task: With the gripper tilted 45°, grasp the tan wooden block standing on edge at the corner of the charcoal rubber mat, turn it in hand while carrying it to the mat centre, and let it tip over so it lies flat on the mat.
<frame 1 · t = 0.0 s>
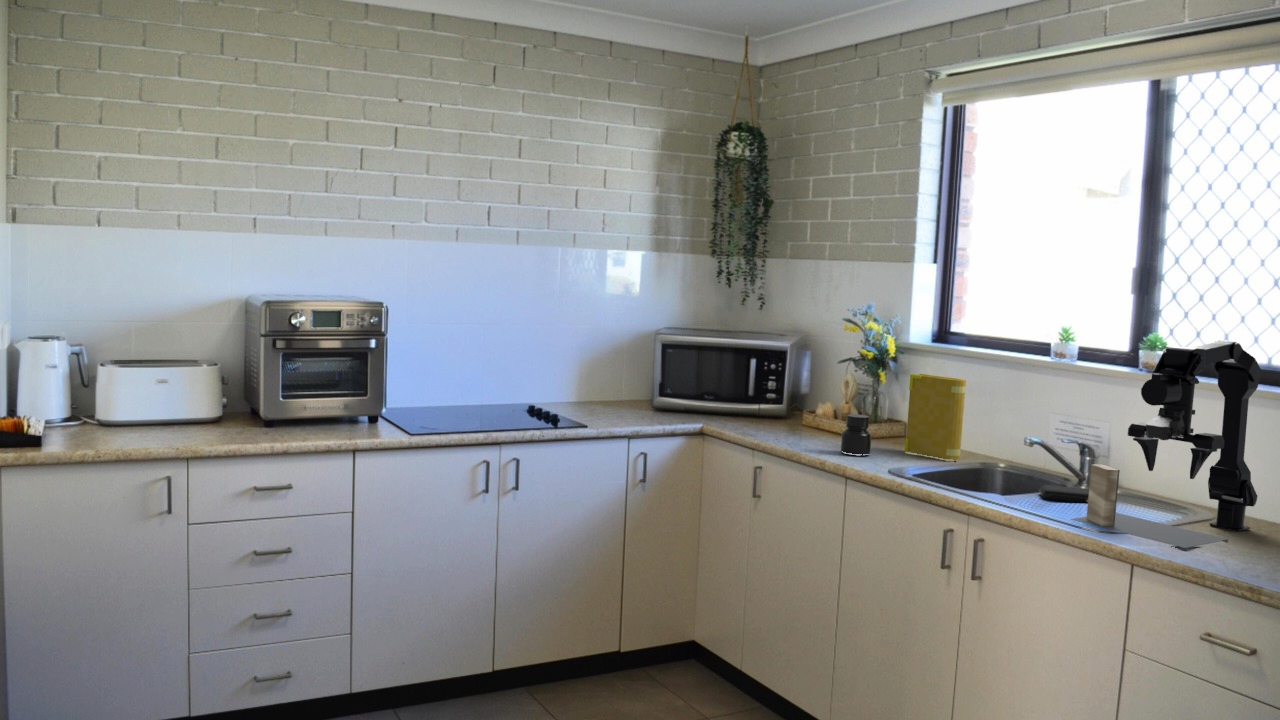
hand: (1171, 474, 229), 15 cm above the worktop, tool pointing down, fingers open, 9 cm apart
tan wooden block: (1100, 522, 243), point 1 cm above the worktop, touching mat
mat: (1147, 531, 238), on the worktop
ink bottle: (855, 455, 322), on the worktop
book: (933, 457, 325), on the worktop
carrying case or bag: (1070, 502, 270), on the worktop
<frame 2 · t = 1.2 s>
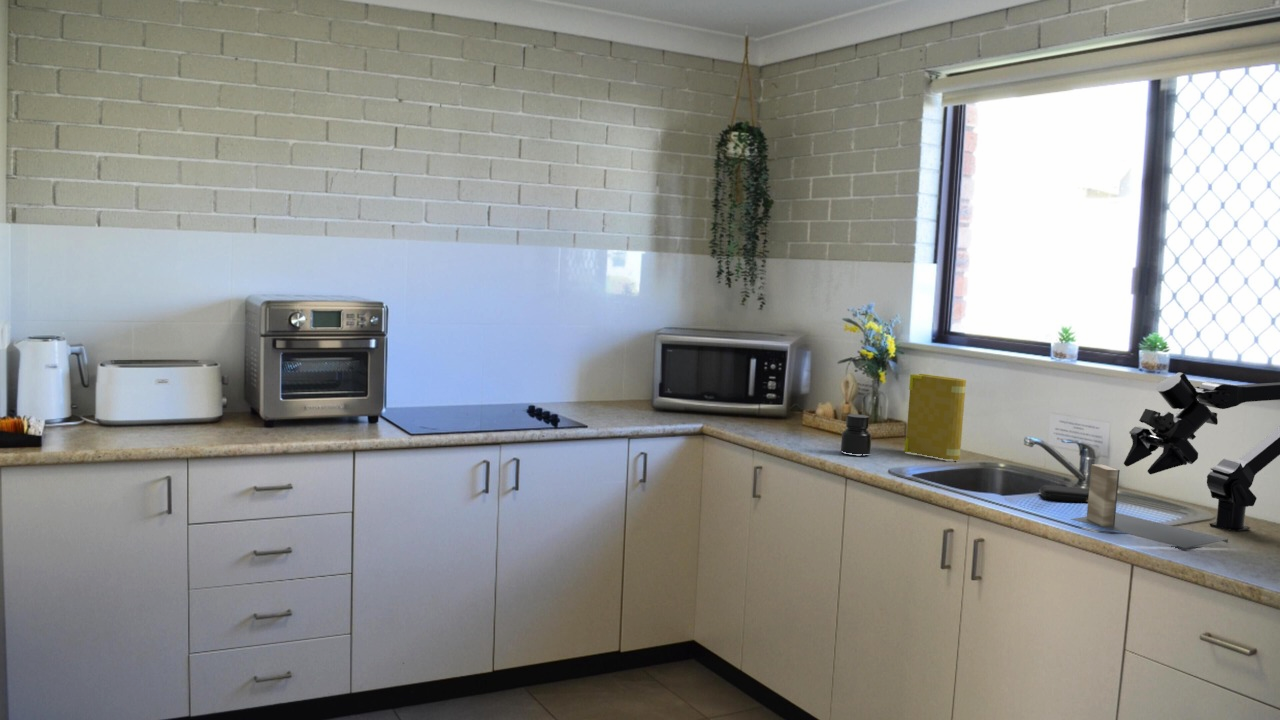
hand: (1136, 468, 242), 13 cm above the worktop, tool tilted 45°, fingers open, 9 cm apart
nothing on the worktop moved.
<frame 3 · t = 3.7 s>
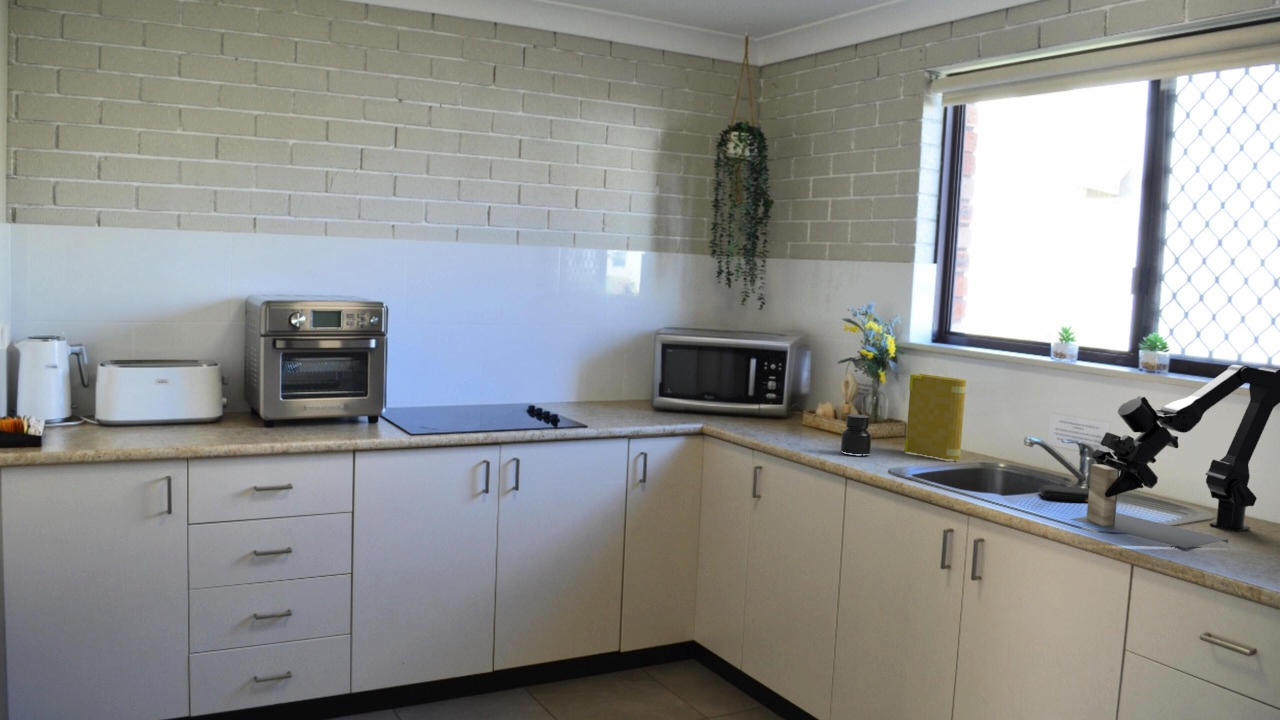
hand: (1097, 492, 242), 8 cm above the worktop, tool tilted 45°, fingers closed on tan wooden block, 6 cm apart
tan wooden block: (1100, 522, 243), point 1 cm above the worktop, touching gripper, mat
everything else where it was.
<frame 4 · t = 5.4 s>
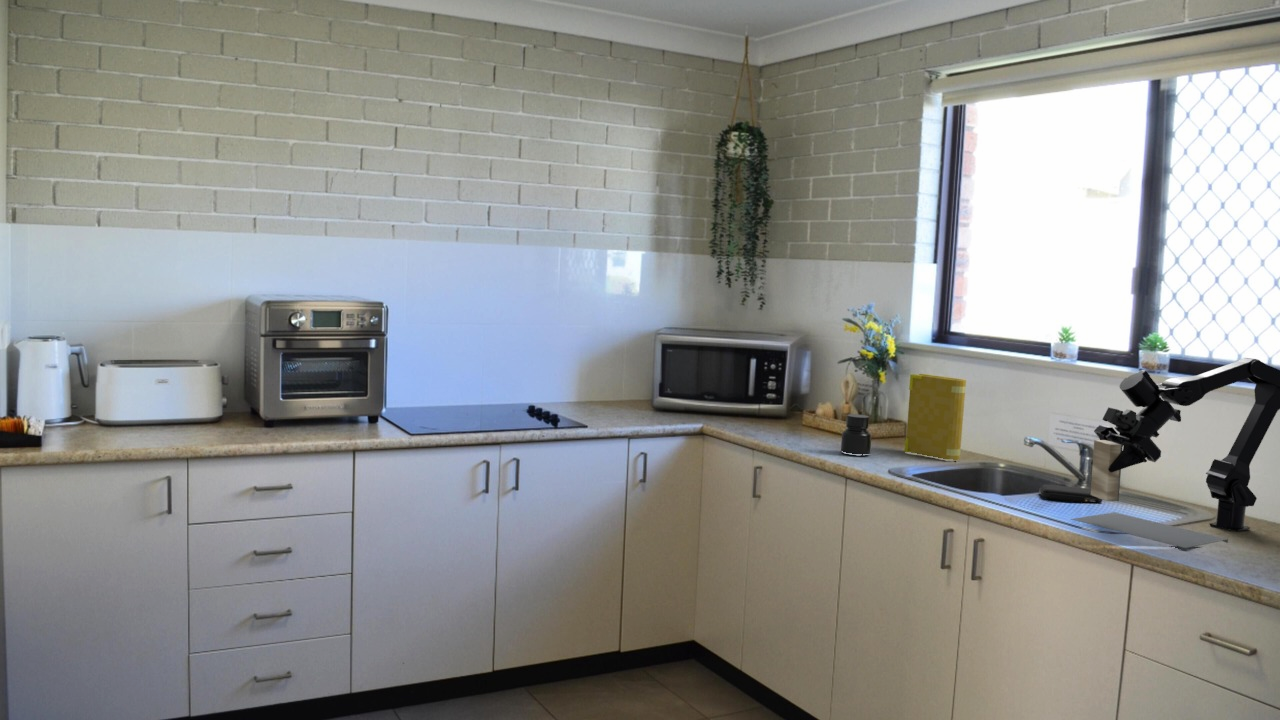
hand: (1100, 468, 241), 13 cm above the worktop, tool tilted 45°, fingers closed on tan wooden block, 6 cm apart
tan wooden block: (1104, 497, 242), point 6 cm above the worktop, touching gripper
everything else where it was.
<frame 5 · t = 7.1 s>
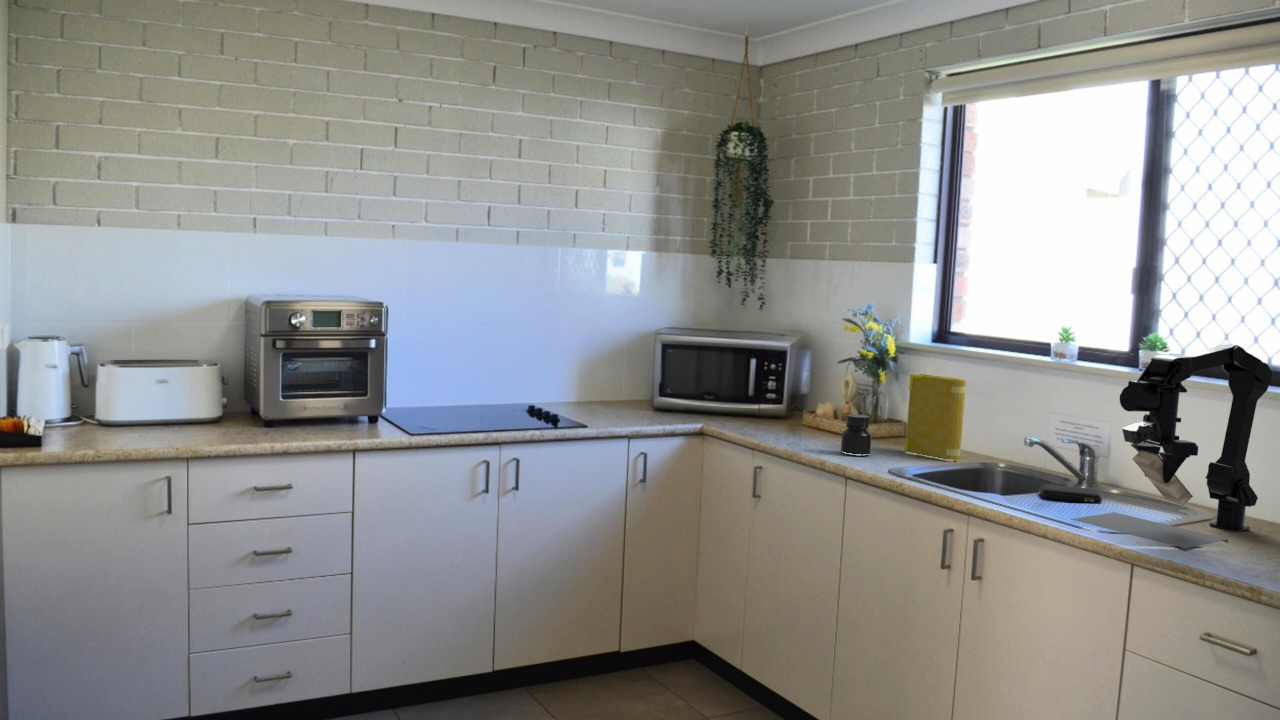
hand: (1156, 479, 238), 12 cm above the worktop, tool pointing down, fingers closed on tan wooden block, 6 cm apart
tan wooden block: (1178, 497, 239), point 8 cm above the worktop, tilted 45°, touching gripper
everything else where it was.
when the fingers open (7 cm above the worktop, at t = 9.3 s): tan wooden block drops 1 cm and tips over, resting on mat.
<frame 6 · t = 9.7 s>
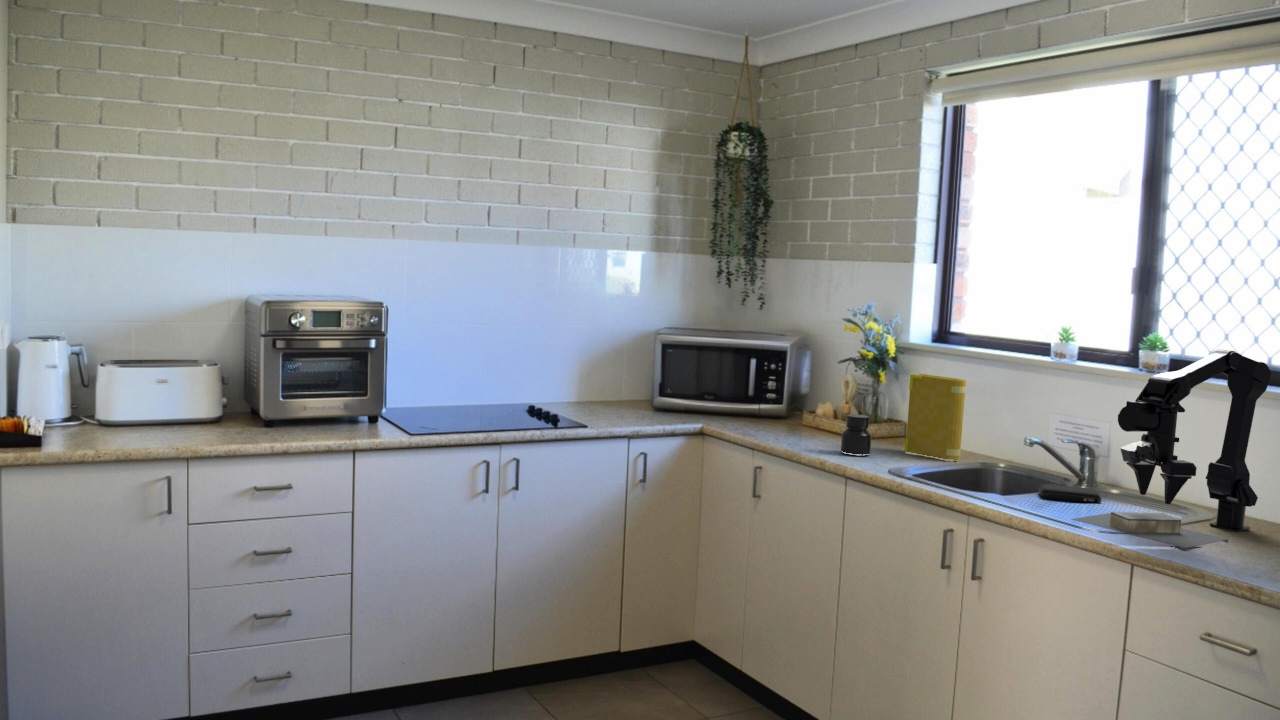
hand: (1154, 499, 238), 7 cm above the worktop, tool pointing down, fingers open, 9 cm apart
tan wooden block: (1171, 522, 239), point 2 cm above the worktop, tilted 90°, touching mat
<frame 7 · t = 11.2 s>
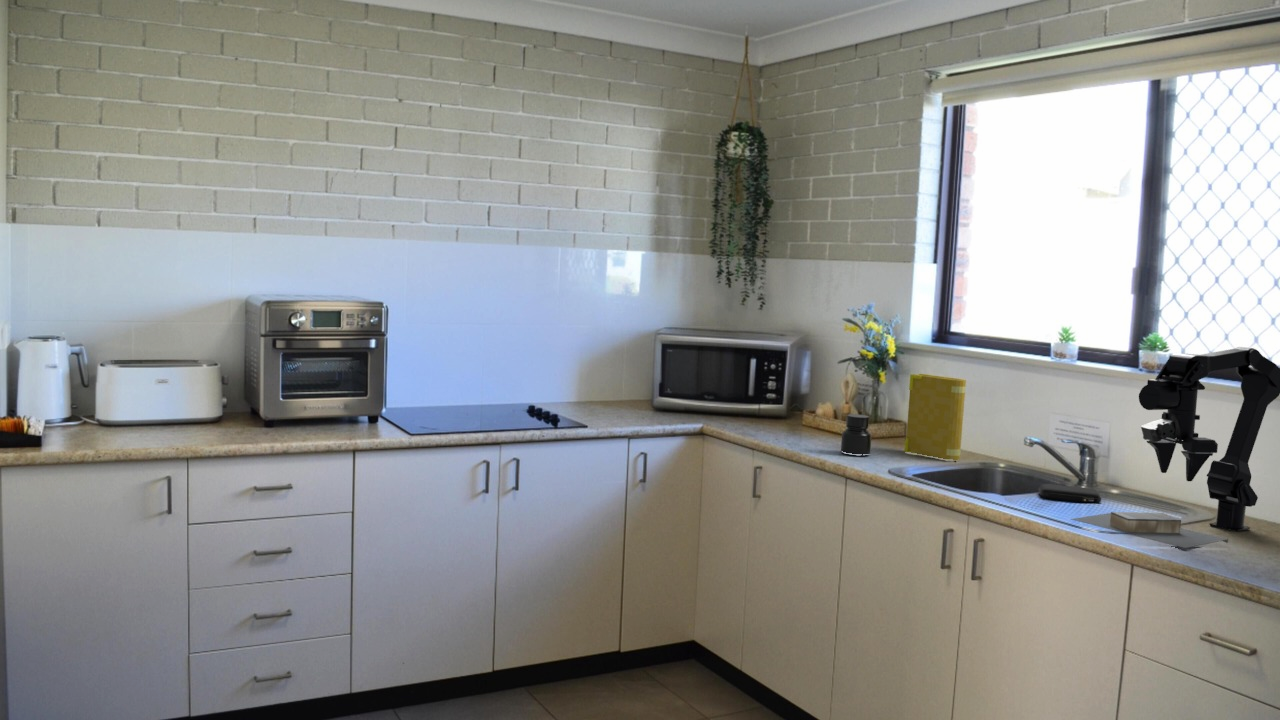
hand: (1176, 476, 239), 13 cm above the worktop, tool pointing down, fingers open, 9 cm apart
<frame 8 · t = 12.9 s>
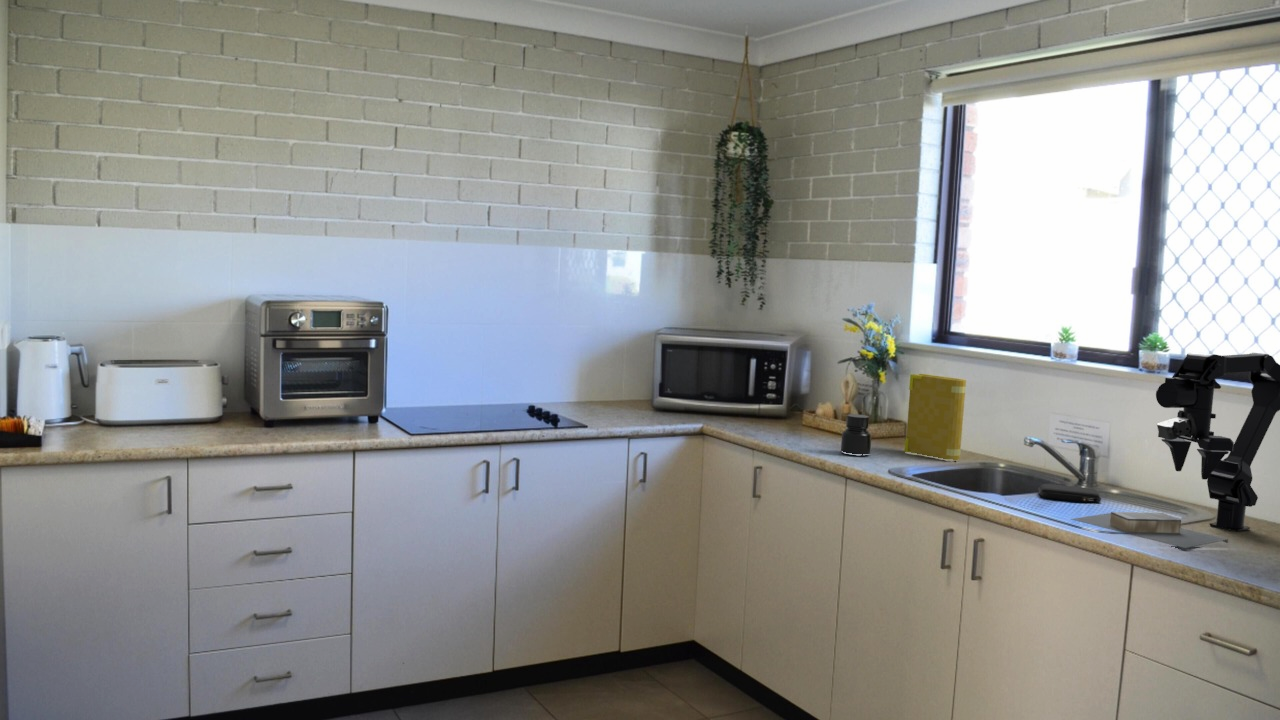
hand: (1191, 475, 240), 13 cm above the worktop, tool pointing down, fingers open, 9 cm apart
at the end: tan wooden block tilted 90°; tan wooden block inside the target area (5.8 cm from its centre), point 2.1 cm above the worktop; tan wooden block touching mat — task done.
